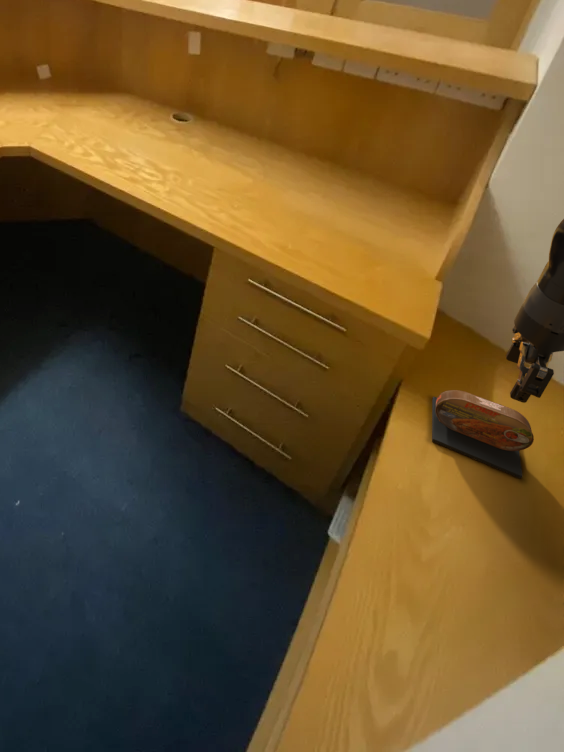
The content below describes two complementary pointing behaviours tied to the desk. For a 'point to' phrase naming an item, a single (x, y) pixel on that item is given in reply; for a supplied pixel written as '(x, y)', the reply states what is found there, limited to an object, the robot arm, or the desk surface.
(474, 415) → the tin
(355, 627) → the desk surface
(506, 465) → the mat
